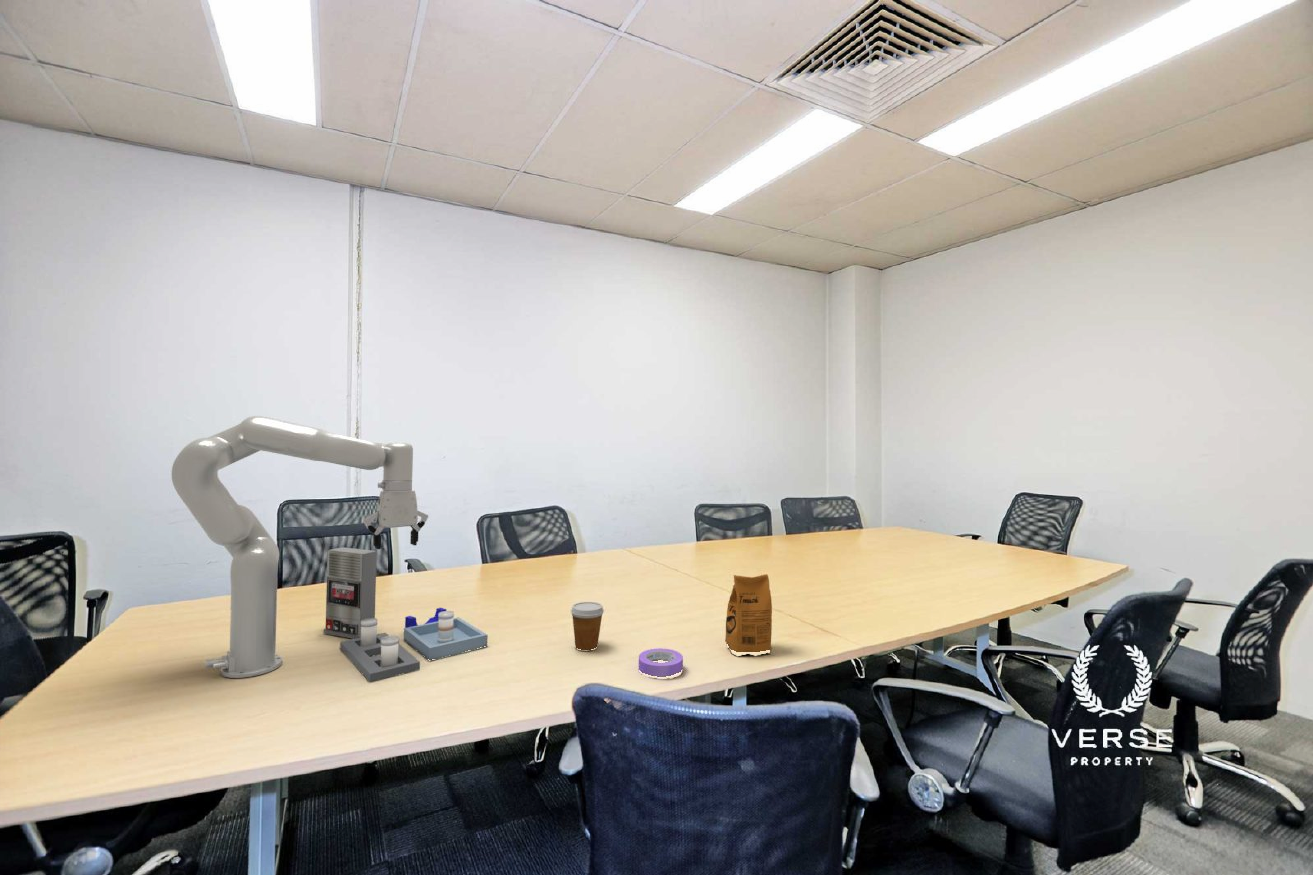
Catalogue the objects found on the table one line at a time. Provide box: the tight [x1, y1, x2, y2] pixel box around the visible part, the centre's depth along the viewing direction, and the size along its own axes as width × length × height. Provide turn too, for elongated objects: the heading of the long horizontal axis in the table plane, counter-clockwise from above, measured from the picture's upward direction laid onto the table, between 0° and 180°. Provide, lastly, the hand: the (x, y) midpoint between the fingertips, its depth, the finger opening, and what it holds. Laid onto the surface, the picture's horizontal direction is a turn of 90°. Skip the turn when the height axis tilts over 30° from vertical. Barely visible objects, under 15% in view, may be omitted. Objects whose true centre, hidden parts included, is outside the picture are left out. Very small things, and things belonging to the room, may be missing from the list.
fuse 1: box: [360, 617, 378, 647], centre depth 157 cm, size 4×4×8 cm
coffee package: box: [724, 573, 773, 652], centre depth 163 cm, size 10×12×22 cm
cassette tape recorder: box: [322, 546, 378, 639], centre depth 168 cm, size 14×6×25 cm, turn 71°
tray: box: [403, 616, 489, 661], centre depth 162 cm, size 16×20×4 cm
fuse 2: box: [380, 635, 400, 668], centre depth 143 cm, size 4×4×8 cm
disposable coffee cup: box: [570, 601, 605, 650], centre depth 162 cm, size 10×10×12 cm
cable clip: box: [404, 607, 448, 628], centre depth 172 cm, size 12×4×6 cm, turn 146°
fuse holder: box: [339, 632, 421, 683], centre depth 150 cm, size 12×28×2 cm, turn 43°
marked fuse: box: [438, 610, 455, 643], centre depth 162 cm, size 4×4×8 cm
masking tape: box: [638, 647, 684, 677], centre depth 147 cm, size 12×12×4 cm
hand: (396, 546), depth 159 cm, fingers open, 9 cm apart
